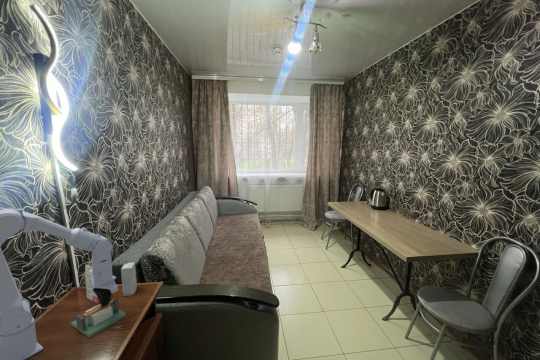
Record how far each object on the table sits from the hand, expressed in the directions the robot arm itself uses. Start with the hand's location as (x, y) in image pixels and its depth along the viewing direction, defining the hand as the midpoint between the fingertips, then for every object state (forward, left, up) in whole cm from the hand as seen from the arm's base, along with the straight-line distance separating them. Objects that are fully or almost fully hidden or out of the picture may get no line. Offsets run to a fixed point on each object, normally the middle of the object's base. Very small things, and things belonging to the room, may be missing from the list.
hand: (105, 304), depth 86 cm
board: (-2, 0, -5) cm, 5 cm away
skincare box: (+14, +8, -5) cm, 17 cm away
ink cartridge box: (+5, +15, -5) cm, 17 cm away
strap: (-2, 0, -1) cm, 2 cm away
